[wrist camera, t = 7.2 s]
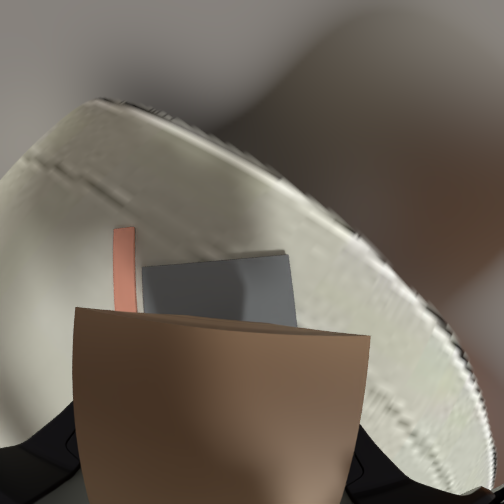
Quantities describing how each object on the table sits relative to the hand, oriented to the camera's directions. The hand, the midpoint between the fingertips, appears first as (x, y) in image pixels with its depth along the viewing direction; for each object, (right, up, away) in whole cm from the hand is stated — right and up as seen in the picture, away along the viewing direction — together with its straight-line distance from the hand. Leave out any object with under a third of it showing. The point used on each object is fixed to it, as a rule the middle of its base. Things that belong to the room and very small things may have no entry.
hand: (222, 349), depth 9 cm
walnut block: (-1, -3, +6) cm, 7 cm away
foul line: (-7, -4, +8) cm, 11 cm away
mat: (-1, -3, +9) cm, 9 cm away
